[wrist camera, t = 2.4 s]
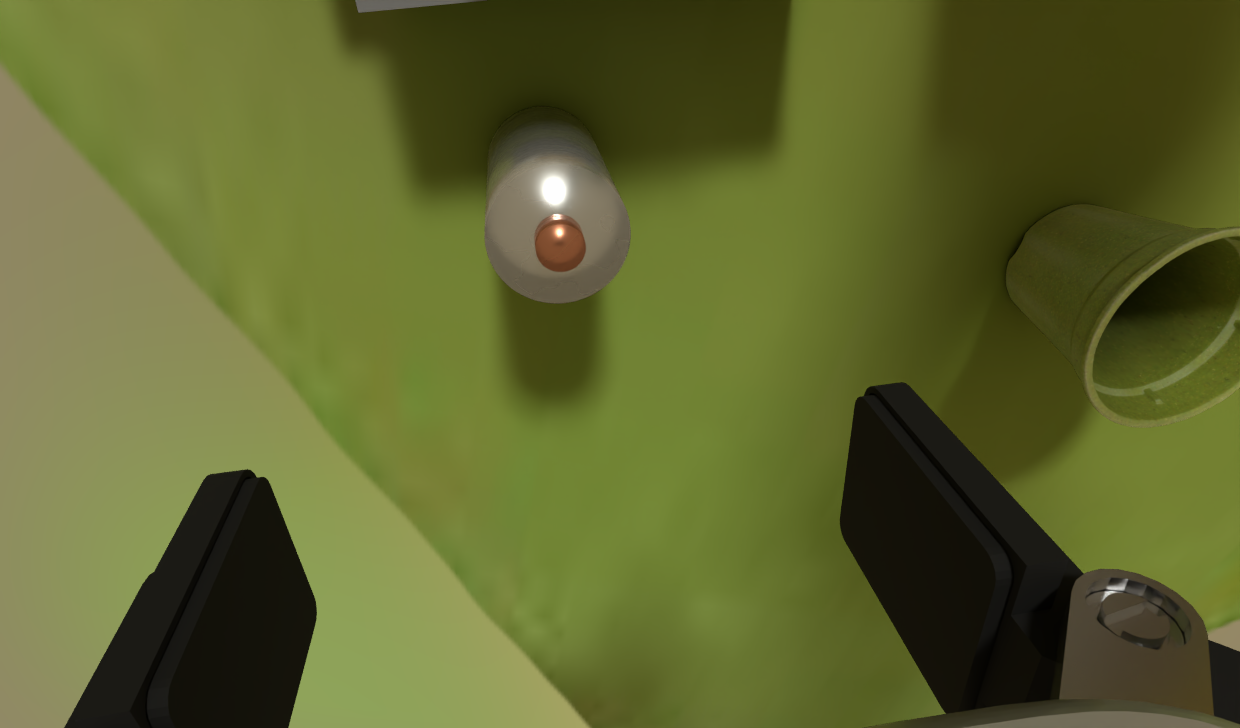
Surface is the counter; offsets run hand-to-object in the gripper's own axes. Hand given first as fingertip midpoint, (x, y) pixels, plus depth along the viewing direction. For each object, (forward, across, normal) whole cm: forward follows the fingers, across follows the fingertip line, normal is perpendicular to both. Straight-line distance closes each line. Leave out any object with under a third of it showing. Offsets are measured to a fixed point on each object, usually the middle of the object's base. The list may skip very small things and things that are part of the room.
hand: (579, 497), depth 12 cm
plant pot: (+23, -27, +8) cm, 36 cm away
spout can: (+23, -1, +1) cm, 23 cm away
